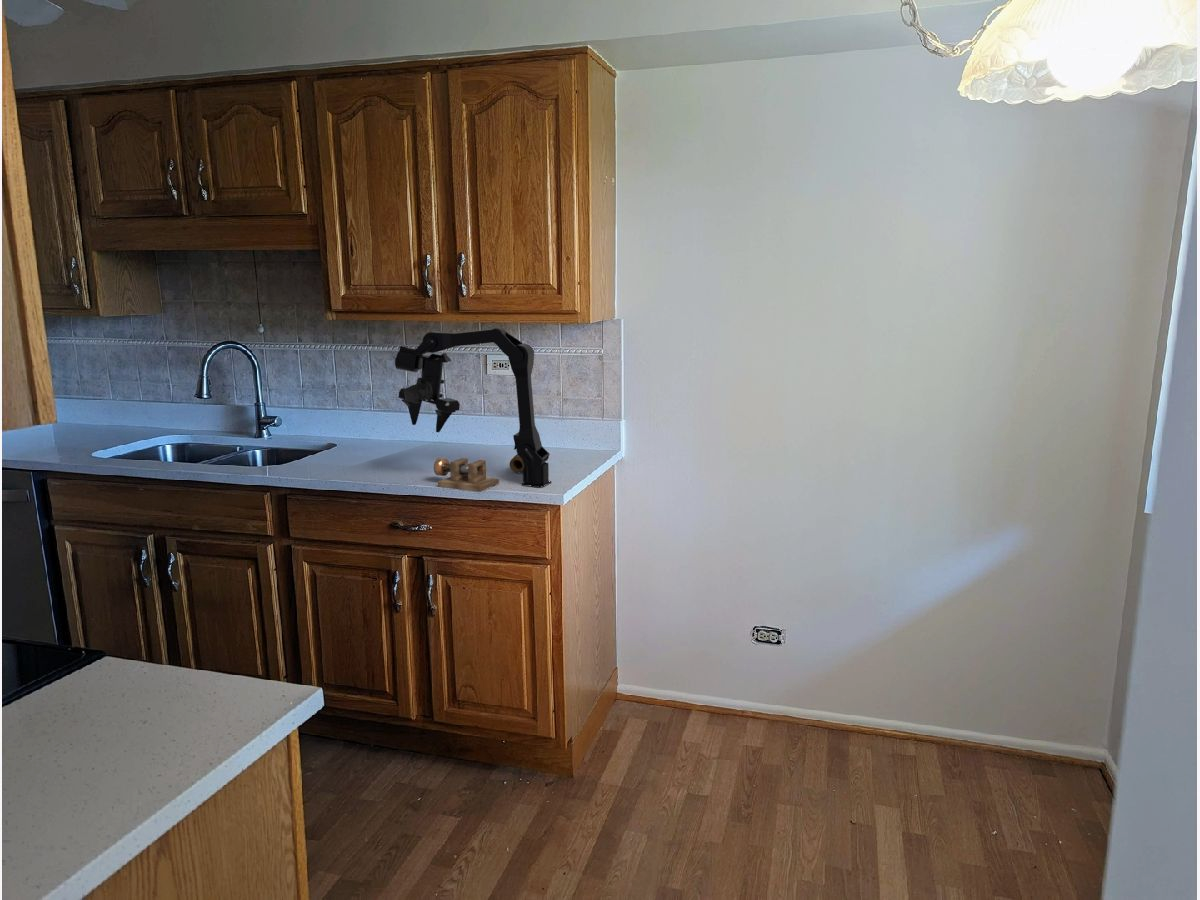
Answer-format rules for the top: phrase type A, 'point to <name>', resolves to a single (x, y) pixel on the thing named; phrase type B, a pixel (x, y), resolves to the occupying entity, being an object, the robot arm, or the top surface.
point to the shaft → (447, 467)
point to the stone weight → (517, 464)
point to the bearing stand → (468, 476)
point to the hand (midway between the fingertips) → (425, 428)
